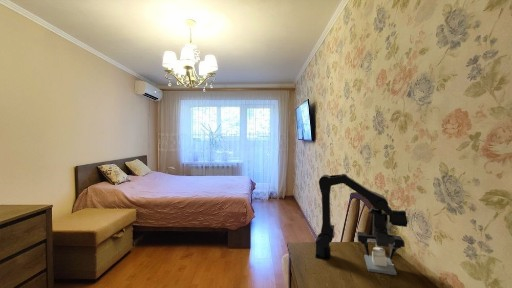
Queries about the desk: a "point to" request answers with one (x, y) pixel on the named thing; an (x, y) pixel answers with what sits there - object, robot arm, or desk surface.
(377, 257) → the knob
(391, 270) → the panel
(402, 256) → the desk surface
